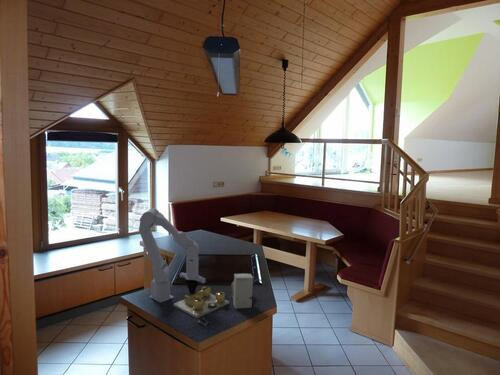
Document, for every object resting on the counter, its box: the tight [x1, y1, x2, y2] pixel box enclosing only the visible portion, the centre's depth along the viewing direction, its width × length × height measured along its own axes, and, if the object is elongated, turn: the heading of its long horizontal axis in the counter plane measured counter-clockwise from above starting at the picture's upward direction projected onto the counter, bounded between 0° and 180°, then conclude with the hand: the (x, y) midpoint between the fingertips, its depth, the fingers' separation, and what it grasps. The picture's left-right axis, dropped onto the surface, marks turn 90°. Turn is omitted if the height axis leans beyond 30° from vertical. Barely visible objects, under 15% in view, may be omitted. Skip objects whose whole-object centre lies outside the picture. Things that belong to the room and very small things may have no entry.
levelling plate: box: [172, 291, 230, 319], centre depth 168 cm, size 17×20×6 cm
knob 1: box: [190, 286, 211, 299], centre depth 173 cm, size 11×4×4 cm, turn 139°
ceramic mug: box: [230, 281, 234, 299], centre depth 177 cm, size 11×8×8 cm
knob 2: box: [183, 294, 203, 310], centre depth 164 cm, size 11×4×4 cm, turn 49°
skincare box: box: [232, 273, 254, 310], centre depth 168 cm, size 8×6×15 cm
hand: (192, 294), depth 174 cm, fingers closed
